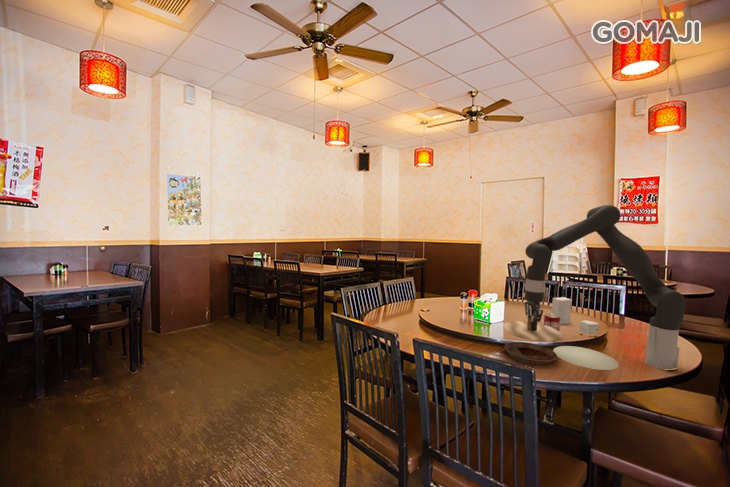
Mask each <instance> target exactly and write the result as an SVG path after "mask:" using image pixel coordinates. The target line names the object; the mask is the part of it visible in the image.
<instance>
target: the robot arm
mask: <svg viewBox="0 0 730 487" xmlns="http://www.w3.org/2000/svg"><path fill="white" fill-rule="evenodd" d="M621 214H622V213H621V211H620V209H619V208H618V207H617V206H615V205H613V204H605V205H601V206H597V207H593V208H592V209H589V210H588V212H587V214H586V218H585V219H583V220H581V221H579V222H577V223H574V224H572V225H569V226H566V227H564V228H562V229H560V230H558V231H556V232H553V233H552V234H551V235H549V236H547V237H544V238H541V239H537V240H536V241H533V242H531V243H529V244H528V245H527V247H526V248H525V255H526V256H527V257H528V258H529V259H531V260H532V262H531V265H528V266H527V270H526V280H525V287H524V288H525V289H524V300H526V301H525V302H524V311H525V316H526V318H527V319H528V318H529V317H531V320H532V321H531V329H532V330H537V323H540V322H541V320H542V317H543V313H544V310H543V309H541V303H543V302H545V291H546V289H545V288H546V282H545V281H546V270H547V268H548V265H549V262H550V259H551V252H557V251H560V250H562V249H564V248H566V247H567V246H570V245H572V244H573V243H574V242H577V241H578V240H580V239H582V238H585V237H586V236H588V235H590V234H592V233H597V234H598V235H599V237H601V239H603V241H604V242H605V243H606V245H607V246H608V247H609V249H610V250H611V251H612V252H613V254H614V255H615V256H616V257H617V259H618V261H619V262H620V263H621V265H623V267H624V268H625V269H626V271H627V272H628V273H629V275H631V277H633V279H634V280H635V281H636V282H637V283H638V285H639V286H640V288H641V290H642V291H643V293H644V294H645V297H646V298H647V299H648V301H649V303H650V304H651V305H653V306H654V307H655V308H656V310H655V315H654V316H652V317H650V318H649V325H648V326H649V328H648V335H647V344H646V352H645V364H647V365H648V366H650V367H653V368H655V367H657V368H656V369H658V368H663V369H673V368H677V369H678V365H679V364H678V363H679V358H680V357H679V355H680V347H679V346H678V340H679V334H680V332H679V331H680V327H681V325H682V323H683V321H684V315H685V312H686V311H685V310H686V298H685V296H684V295H683V294H682V293H680V292H679V291H676V290H674V289H671V288H669V287H668V286H667V285H666V284H665V283H664V282H663V281H662V280H661V279H660V278H659V277H658V275H657V273H656V271H655V269H654V265H653V262H652V260H651V258H650V256H649V255H648V253H647V252H646V251H645V250H644V248H643V247H642V246H641V245H640V244H639V243H638V242H636V241H635V240H634V239H632V238H630V237H628V236H627V235H625V234H624V233H622V232H621V230H619V229H618V228H617V226H616V224H617V223H618V222H619V221H620V220H621V217H622V216H621ZM526 322H527V326H528V321H526Z"/></svg>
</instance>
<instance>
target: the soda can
mask: <svg viewBox="0 0 730 487" xmlns="http://www.w3.org/2000/svg"><path fill="white" fill-rule="evenodd" d="M560 319H561V318H560V316H559V315H556V314H552V312H551V313H549V312H547V313H545V314H544V315H543V325H546V326H549V327H552V328H554V329H556V330H558V331H560V329H561V325H560ZM560 332H561V331H560Z"/></svg>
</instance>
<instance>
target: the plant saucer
mask: <svg viewBox="0 0 730 487" xmlns="http://www.w3.org/2000/svg"><path fill="white" fill-rule="evenodd" d="M504 348H505V351H506V352H507V354H508V355H509V356H510V357H511V358H513V359H514V360H517V361H519V362H521V363H523V364H529V365H542V366H544V365H548V364H551V363H553V362H555V361H556V360H557V355H556V353H555V352H553V350H552V349H550V348H548V347H545V346H543V345H540V344H536V343H531V342H523V341H512V342H507V343H506V344H504ZM520 348H522V349H529V350H535V351H538V352H541V353H543V354H545V355H547V356H548V357H550V359H547V360H543V359H541V360H539V359H533V358H527V357H526V355H524V353H522V351H521V349H520Z"/></svg>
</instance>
